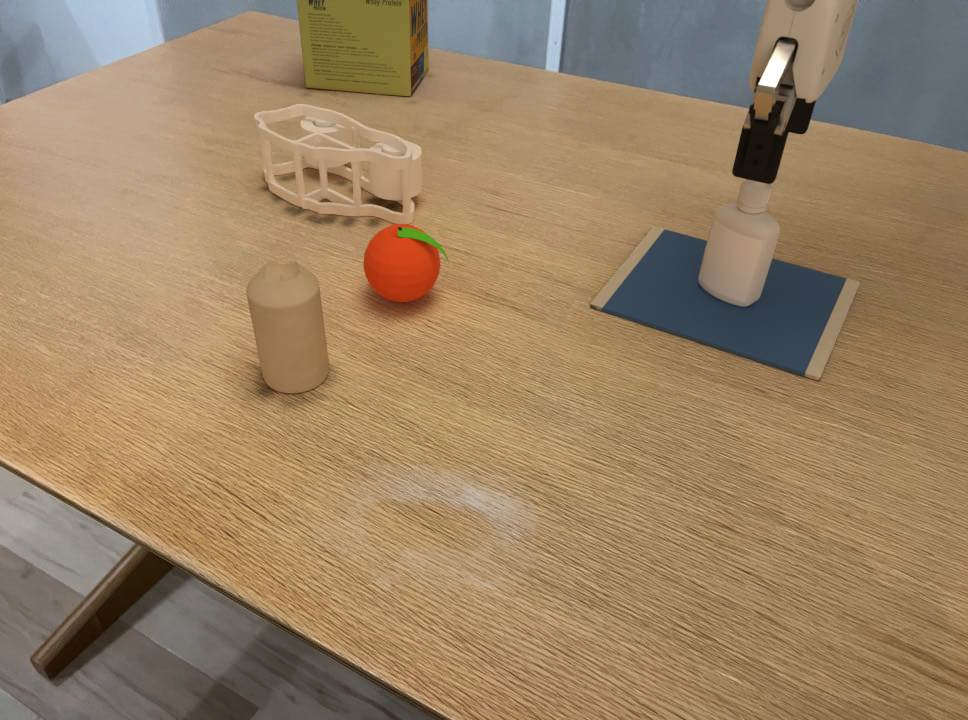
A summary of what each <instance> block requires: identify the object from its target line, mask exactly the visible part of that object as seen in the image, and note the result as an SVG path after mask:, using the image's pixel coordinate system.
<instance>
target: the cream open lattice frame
mask: <svg viewBox="0 0 968 720" xmlns="http://www.w3.org/2000/svg"><path fill="white" fill-rule="evenodd" d="M300 116H305V117H303V118H302V120H300V122H299V125H300V134H301V137H300V138H298V139H295V140H294V139H290V138H287V137H285V136H283V135H281V134H278V133H277V132H275V131H272V130H271V129H269V128H268V126H267V124H270V123H277V122H283V121H287V120H291V119H294V118H296V117H300ZM253 118H254V125H255V129H256V133H257V137H258V144H259V145H258V146H259V149H260V158H261V162H262V169H263V177H264V181H265V183H267V186H268V190H269V192H271V193H273V194H274V195H275V196H277V197H279V198H281V199H283V200H285V201H286V202H288V203H290V204H292V205H294V206H296V207H299V208H301V209H302V210H310V211H312V212H314V213H317V214H319V215H337V216H343V217H344V216H345V217H375V218H379V219H382V220H385V221H386V222H388V223H391V224H393V225H395V224H408V225H411V224H412V223H413V222H414V220H415V215H416V213H415V212H416V211H415V203H414V200H412V198H414V197H416V196H417V195H419V194H421V192H422V190H423V151H422V148H421V147H420V145H418V144H416V143H415V142H412V141H408V140H405V139H404V138H402V137H400V136H398V135H396V134H393V133H390V132H387V131H384V130H380V129H379V130H378V129H375V128H371V127H369V126H366V125H365V124H363V123H361V122H359V121H357V119H354V118H352V117H350V116H348V115H346V114H344V113H341V112H339V111H336V110H333V109H329V108H325V107H320V106H316V105H310V104H307V103H296V104H295V103H294V104H292V105H290V106H287V107H282V108H277V109H273V110H263V111H257V112H256V113H254V117H253ZM361 138H362V139H366V140H368V141H369V142H374V143H375V144H373V145H371V147H370V148H368V147H367V148H365V147H362V146H361ZM271 144H272V145H274V146H276V147H278V148H280V149H282V150H284V151H286V152H289V153H291V154H292V160H290V161H287V162H281V163H273V156H272V149H271ZM363 162H368V163H367V164H368V176H369V179H368V178H367V177H365V176H364V173H363V172H364V171H363ZM348 163H350V167H348V166H345V165H346V164H348ZM307 168H310V169H314V170H318V174H319V183H320V187H318V188H317V189H313V190H312V191H309V192H308V193H306V188H305V180H304V179H305V178H304V171H303V170H304V169H307ZM291 173H294V177H295V183H296V184H295V185H296V192H297V193H296V192H293V191H291V190H289V189H288V188H286V187H284V186H283V185H280V184H279V183H277V180H276V177H275V176H281V175H282V176H283V175H287V174H291ZM328 173H331V174H335V175H338V176H341V177H343V178H344V179H347V180H349V181H351V182H352V183H351V184H352V194H353V199H352V198H349V197H348V196H345V195H343V194H341V193H340V192H338V191H335V190H333V189H331V187H329V179H328ZM362 189H363V190H365V191H366V192H368V193H371V194H372V195H373V196H375V197H377V198H379V199H383V200H387V201H388V200H389V201H394V202H397V203H398V204H400V205H401V206H402V212H399V211H394V210H391V209H389V208H386V207H384V206H382V205H377V204H374V203H373V204H372V203H364V204H363V202H362ZM323 200H328V201H329V202H328V201H327V202H325V201H324V202H322V201H323Z"/></svg>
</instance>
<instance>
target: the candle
mask: <svg viewBox="0 0 968 720" xmlns="http://www.w3.org/2000/svg"><path fill="white" fill-rule="evenodd" d="M245 288H246V289H245V294H246V299H247V303H248V309H249V314H250V319H251V324H252V329H253V334H254V339H255V344H256V350H257V355H258V359H259V364H260V370H261V373H262V377H263V380H264V382H265V384H267V386H268V387H269V388H271V389H272V390H274V391H277V392H279V393H284V394H300V393H304V392H308V391H311V390H313V389H315V388H317V387H319V386H320V385H322V384H323V383H324V381H325V380H327V378H328V375H329V371H330V362H329V354H328V353H329V352H328V344H327V338H326V328H325V321H324V319H325V318H324V313H323V304H322V296H321V289H320V288H321V287H320V281H319V278H318V277H317V276H316V274H314V273H313V272H312V271H310V270H309V269H307V268H305V267H304V266H303V265H301V264H300V263H299V262H297V261H290V262H286V263H282V262H279V261H274V260H273V261H268V262H266V263H264V264H263V266H262V267H261V268H260V270H259V271H258V272H257V273H255V275H254V276H253V277H252V278H251V279H250V280H249V282H248V283H247V284H246V287H245Z"/></svg>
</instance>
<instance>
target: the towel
mask: <svg viewBox="0 0 968 720" xmlns="http://www.w3.org/2000/svg"><path fill="white" fill-rule="evenodd" d="M707 240H708V239H707ZM707 240H706V239H703V238H699V237H695V236H692V235H688V234H684V233H680V232H677V231H672V230H669V229H665V228H663V227H660V226H656V225H653V226H652V227H651V229H650V230H648V232H647V233H646V235H645V236H644V237H643V238H642V239H641V241H640V242H639V243H638V245H637V246H636V247H635V248H634V249H633V251H632V252H631V253H630V254H629V255H628V256H627V258H626V259H625V260H624V261H623V263H622V264H621V265H620V266H619V268H618V269H617V270H616V271H615V272H614V274H613V275H612V276H611V277H610V278H609V280H608V281H607V282H606V283H605V285H604V286H603V287H602V288H601V290H600V291H599V292H598V293H597V295H596V296H595V297H594V298H593V299H592V301H591V302H590V303H589V308H591V309H595V310H597V311H600V312H603V313H606V314H610V315H613V316H616V317H619V318H622V319H625V320H628V321H631V322H635V323H637V324H641V325H643V326H646V327H650V328H653V329H656V330H659V331H662V332H666V333H669V334H672V335H674V336H678V337H681V338H683V339H686V340H690V341H693V342H696V343H699V344H702V345H705V346H709V347H711V348H714V349H718V350H721V351H724V352H727V353H730V354H733V355H737V356H740V357H743V358H746V359H749V360H753V361H755V362H758V363H760V364H761V363H762V364H765V365H767V366H771V367H774V368H777V369H780V370H782V371H786V372H789V373H792V374H796V375H799V376H801V377H805V378H807V379H809V380H810V379H811V380H814V381H817V382H820V380H821V378H822V375H823V373H824V371H825V368H826V366H827V363H828V361H829V359H830V356H831V354H832V351H833V349H834V347H835V344H836V342H837V340H838V337H839V335H840V332H841V330H842V328H843V325H844V322H845V320H846V318H847V316H848V314H849V311H850V308H851V306H852V303H853V301H854V299H855V297H856V294H857V292H858V290H859V287H860V285H861V281H859V280H855V279H851V278H847V277H843V276H839V275H835V274H832V273H828V272H824V271H820V270H817V269H813V268H810V267H806V266H803V265H799V264H794V263H792V262H788V261H783V260H780V259H776V258H773V257H772V261H771V264H770V267H769V270H768V274H767V277H766V280H765V283H764V286H763V290H762V293H761V296H760V298H759V299H758V300H757V301H755V302H754V303H752V304H751V305H749V306H746V307H741V306H737V305H733V304H730V303H727V302H724V301H722V300H720V299H718V298H716V297H714V296H712V295H711V294H709V293H708V292H707V291H705V290H704V289H703V288H702V287H701V286H700V284H699V282H698V276H699V272H700V268H701V264H702V260H703V256H704V252H705V248H706V244H707Z"/></svg>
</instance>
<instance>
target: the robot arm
mask: <svg viewBox="0 0 968 720" xmlns="http://www.w3.org/2000/svg"><path fill="white" fill-rule="evenodd" d="M858 3H859V0H767V2H766V5H765V8H764V12H763V17H762V20H761V24H760V29H759V32H758V37H757V42H756V46H755V50H754V54H753V59H752V64H751V69H750V73H749V81H748V86H749V88H750V90H751V91H752V92H753V93H754V94H753V97H752V99H751V103H750V106H749V108H748V111H747V113H746V116H745V118H744V123H743V125H742V128H741V131H740V135H739V140H738V145H737V149H736V153H735V157H734V162H733V166H732V171H731V173H732V176H733V177H735V178H740V179H744V180H747V179H748V180H752V181H757V182H761V183H766V184H771V185H772V184H773V183H774V182H775V181H776V179H777V177H778V173H779V169H780V165H781V162H782V158H783V154H784V150H785V147H786V144H787V139H788V136H789V133H790V134H797V135H805V134H806V133H807V131H808V129H809V127H810V123H811V120H812V116H813V112H814V109H815V106H816V102H817V100H818V99H819V98H820V97H821V96H822V94H823V93H824V92H825V90H826V88H827V87H828V85H829V84H830V83H831V81H833V78H834V77H835V75H836V73H837V72H838V70H839V68H840V67H841V64H842V62H843V59H844V56H845V52H846V49H847V44H848V40H849V37H850V33H851V29H852V25H853V23H854V22H853V21H854V18H855V15H856V10H857V6H858Z"/></svg>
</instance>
